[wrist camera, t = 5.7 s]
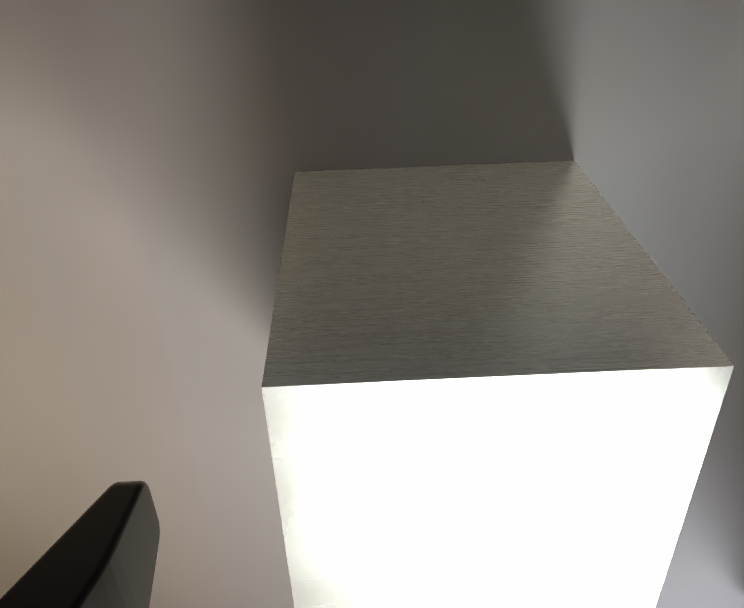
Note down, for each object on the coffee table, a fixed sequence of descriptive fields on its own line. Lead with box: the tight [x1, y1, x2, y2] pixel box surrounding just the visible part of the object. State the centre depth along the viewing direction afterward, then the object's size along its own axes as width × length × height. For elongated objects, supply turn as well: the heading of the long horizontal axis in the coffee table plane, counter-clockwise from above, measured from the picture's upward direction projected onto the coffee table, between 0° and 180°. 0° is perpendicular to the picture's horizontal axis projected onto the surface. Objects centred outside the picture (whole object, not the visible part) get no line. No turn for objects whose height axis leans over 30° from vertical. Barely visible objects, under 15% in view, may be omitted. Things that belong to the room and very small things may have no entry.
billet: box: [262, 161, 734, 608], centre depth 11 cm, size 5×5×6 cm
